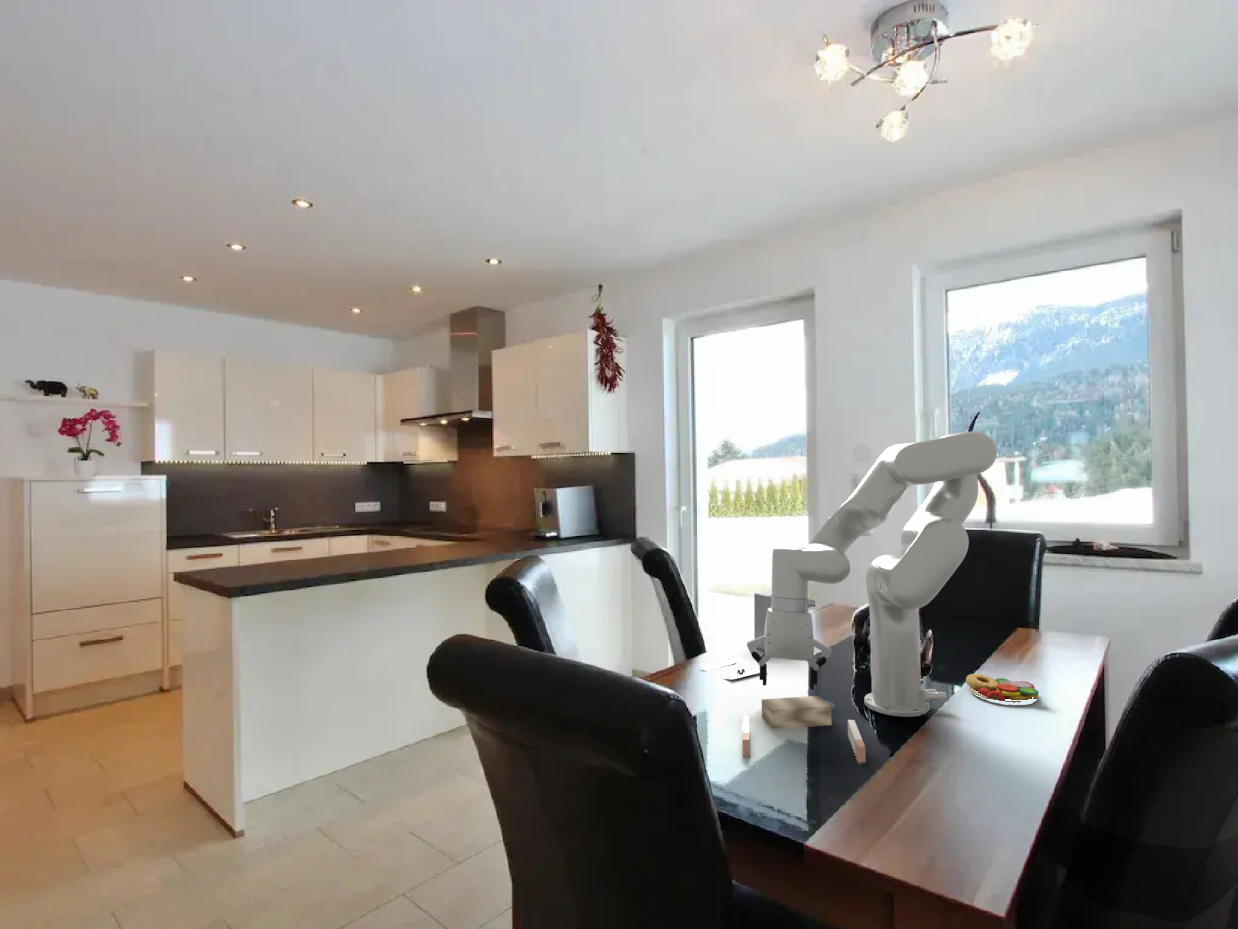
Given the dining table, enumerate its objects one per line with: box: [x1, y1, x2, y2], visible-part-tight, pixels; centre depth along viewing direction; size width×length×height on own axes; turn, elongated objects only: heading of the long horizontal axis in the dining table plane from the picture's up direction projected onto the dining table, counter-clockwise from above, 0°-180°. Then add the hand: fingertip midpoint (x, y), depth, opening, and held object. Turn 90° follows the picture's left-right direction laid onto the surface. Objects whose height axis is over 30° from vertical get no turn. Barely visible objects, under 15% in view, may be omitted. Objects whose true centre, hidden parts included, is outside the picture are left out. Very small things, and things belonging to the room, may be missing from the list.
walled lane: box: [742, 713, 867, 764], centre depth 119 cm, size 20×12×3 cm, turn 79°
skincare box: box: [753, 588, 772, 651], centre depth 184 cm, size 8×7×16 cm
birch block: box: [761, 695, 832, 730], centre depth 131 cm, size 12×6×4 cm, turn 97°
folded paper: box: [699, 655, 760, 680], centre depth 164 cm, size 12×12×2 cm
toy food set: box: [965, 673, 1040, 703], centre depth 142 cm, size 13×13×3 cm
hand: (787, 685), depth 139 cm, fingers open, 9 cm apart
